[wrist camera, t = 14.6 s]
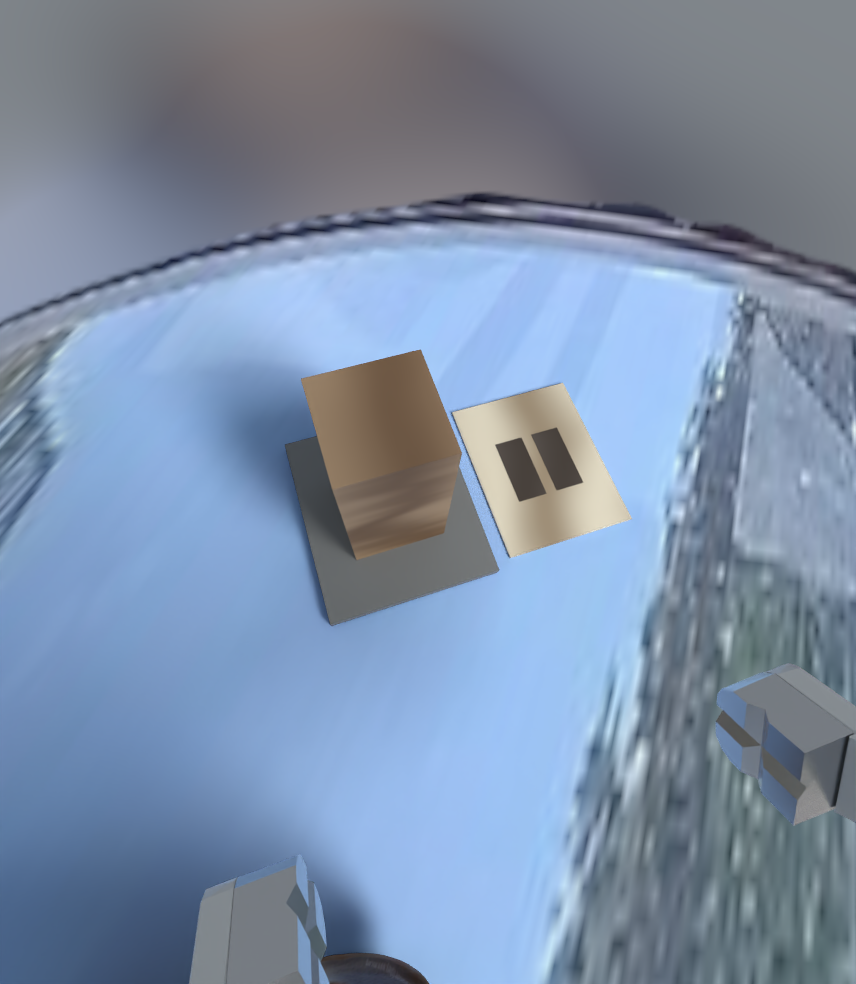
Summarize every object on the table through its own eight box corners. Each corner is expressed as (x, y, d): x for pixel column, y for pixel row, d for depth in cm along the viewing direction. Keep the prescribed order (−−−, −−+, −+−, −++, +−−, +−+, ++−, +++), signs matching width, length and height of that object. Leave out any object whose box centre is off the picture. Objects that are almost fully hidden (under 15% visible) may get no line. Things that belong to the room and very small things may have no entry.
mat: (331, 625, 24) (330, 624, 24) (286, 448, 28) (284, 444, 28) (497, 572, 26) (499, 569, 25) (434, 409, 29) (435, 405, 29)
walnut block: (356, 560, 25) (332, 489, 17) (333, 479, 27) (300, 378, 19) (443, 533, 26) (462, 453, 18) (416, 456, 28) (420, 349, 19)
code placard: (509, 559, 26) (510, 557, 26) (451, 415, 30) (452, 412, 29) (628, 521, 28) (631, 518, 27) (560, 386, 31) (562, 382, 30)
